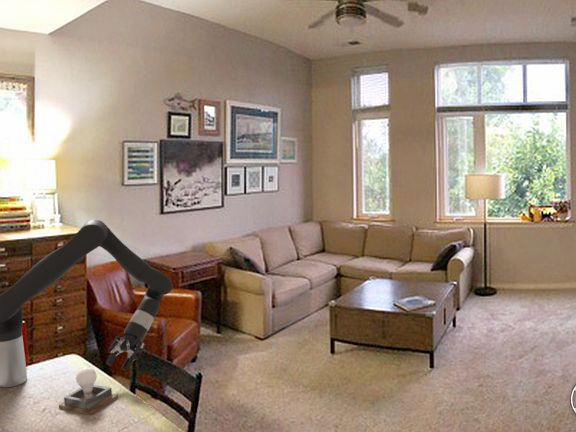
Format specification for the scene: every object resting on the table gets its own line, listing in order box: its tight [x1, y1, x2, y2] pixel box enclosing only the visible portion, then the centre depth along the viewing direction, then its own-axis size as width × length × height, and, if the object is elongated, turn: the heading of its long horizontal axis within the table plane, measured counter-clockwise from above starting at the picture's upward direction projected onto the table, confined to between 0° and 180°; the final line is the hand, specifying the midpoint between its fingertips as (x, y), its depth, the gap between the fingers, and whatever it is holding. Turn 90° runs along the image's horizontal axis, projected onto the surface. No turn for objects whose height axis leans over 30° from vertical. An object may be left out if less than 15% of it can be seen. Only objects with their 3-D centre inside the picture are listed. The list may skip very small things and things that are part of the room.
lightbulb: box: [75, 366, 98, 400], centre depth 169 cm, size 6×6×11 cm
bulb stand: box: [58, 384, 119, 416], centre depth 169 cm, size 14×12×4 cm
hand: (116, 367), depth 178 cm, fingers open, 8 cm apart
